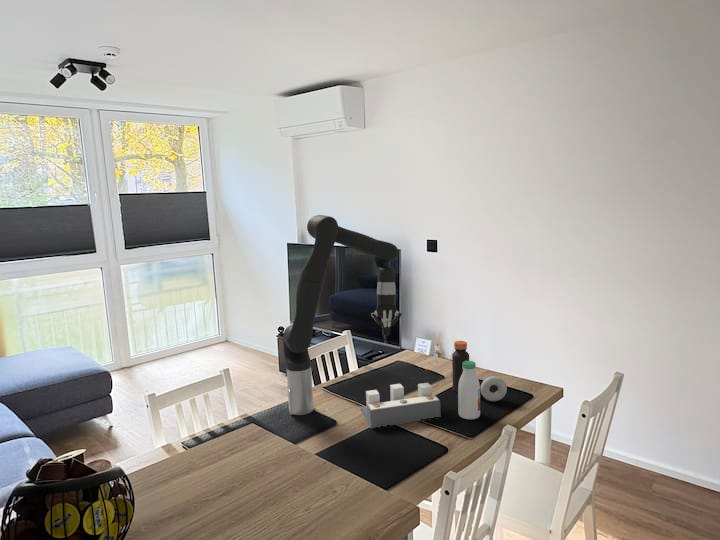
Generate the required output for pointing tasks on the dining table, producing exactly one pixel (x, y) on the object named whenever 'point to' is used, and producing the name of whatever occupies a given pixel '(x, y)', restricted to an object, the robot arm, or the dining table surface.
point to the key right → (424, 389)
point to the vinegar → (458, 361)
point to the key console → (401, 411)
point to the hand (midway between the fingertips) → (386, 336)
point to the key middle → (396, 392)
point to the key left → (372, 397)
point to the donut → (496, 395)
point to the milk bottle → (469, 392)
